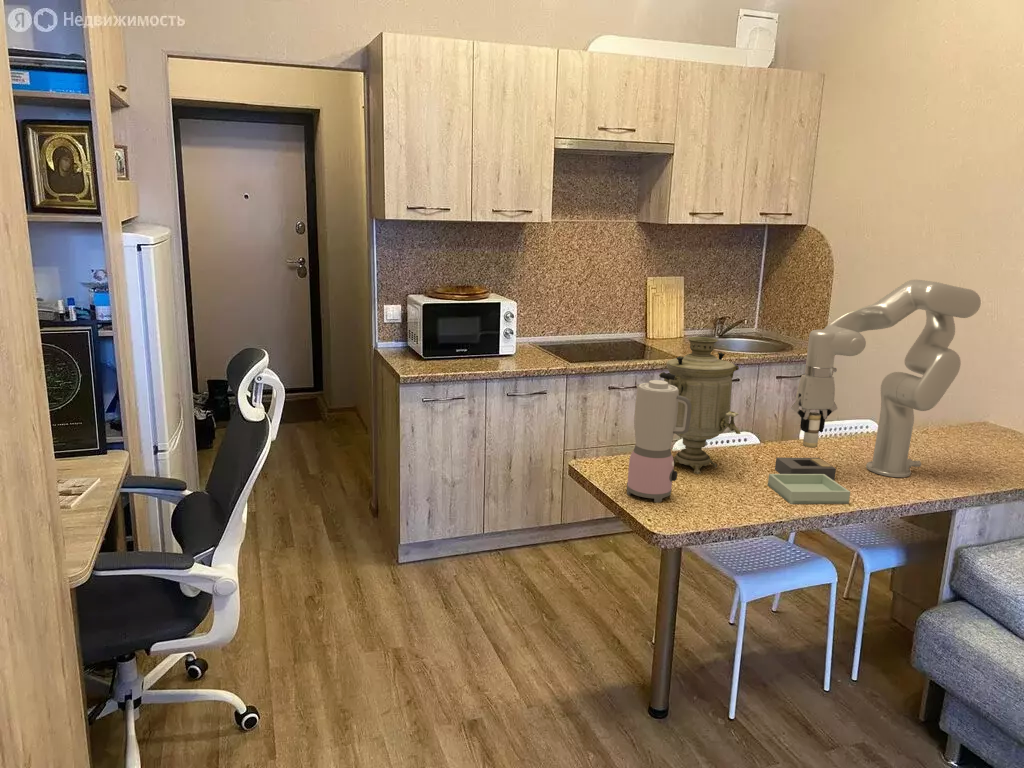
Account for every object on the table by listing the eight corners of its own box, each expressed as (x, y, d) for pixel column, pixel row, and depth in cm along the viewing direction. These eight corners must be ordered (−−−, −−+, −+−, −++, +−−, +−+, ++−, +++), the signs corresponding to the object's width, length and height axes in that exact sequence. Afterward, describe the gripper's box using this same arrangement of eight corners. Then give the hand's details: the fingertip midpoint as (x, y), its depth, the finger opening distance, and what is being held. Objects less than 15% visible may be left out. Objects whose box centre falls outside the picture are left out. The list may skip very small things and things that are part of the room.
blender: (619, 496, 202) (628, 382, 194) (634, 482, 212) (643, 374, 205) (675, 509, 194) (686, 391, 187) (688, 494, 205) (699, 383, 197)
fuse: (813, 443, 225) (816, 412, 222) (819, 447, 221) (823, 415, 218) (800, 443, 224) (803, 412, 222) (806, 447, 220) (810, 415, 218)
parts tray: (822, 485, 217) (824, 474, 216) (848, 503, 203) (850, 491, 202) (767, 485, 215) (769, 473, 214) (790, 503, 201) (791, 491, 200)
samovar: (680, 488, 209) (693, 350, 200) (632, 459, 233) (642, 334, 224) (763, 478, 220) (780, 347, 211) (709, 451, 244) (722, 332, 235)
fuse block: (817, 469, 230) (819, 457, 229) (834, 481, 220) (836, 467, 220) (774, 469, 229) (776, 456, 228) (789, 481, 219) (791, 467, 218)
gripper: (838, 368, 222) (831, 427, 226) (785, 369, 220) (779, 427, 224) (852, 374, 214) (844, 434, 219) (797, 374, 213) (791, 435, 217)
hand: (811, 430), depth 221 cm, fingers closed on fuse, 4 cm apart
